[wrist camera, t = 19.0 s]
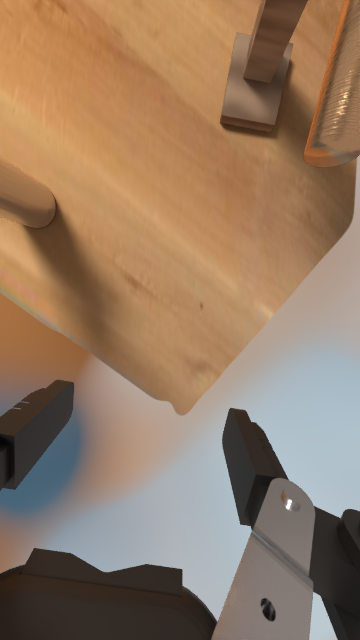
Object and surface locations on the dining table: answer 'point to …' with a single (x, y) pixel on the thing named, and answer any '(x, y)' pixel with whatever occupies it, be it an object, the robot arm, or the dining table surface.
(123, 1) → the dining table surface
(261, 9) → the wooden pedestal stand
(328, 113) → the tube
